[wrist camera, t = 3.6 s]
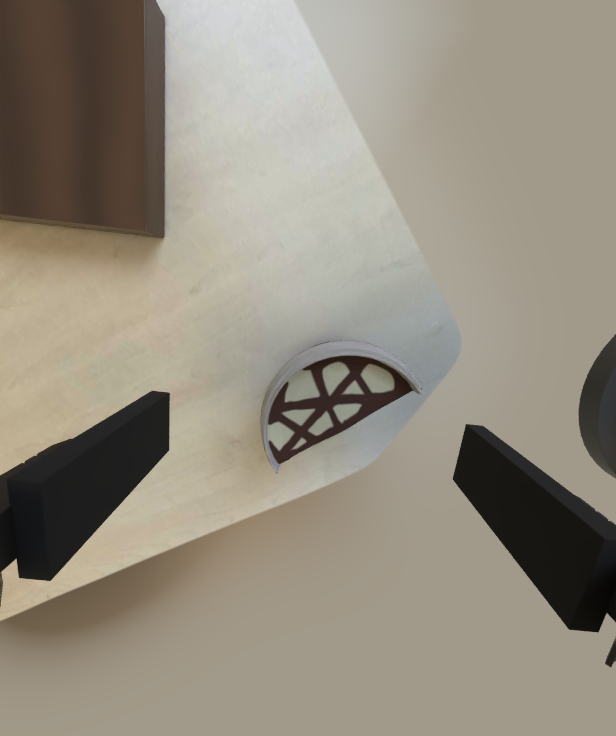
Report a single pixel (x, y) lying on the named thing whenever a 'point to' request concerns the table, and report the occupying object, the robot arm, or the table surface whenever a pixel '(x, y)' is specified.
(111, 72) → the board
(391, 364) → the food container
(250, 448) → the table surface
